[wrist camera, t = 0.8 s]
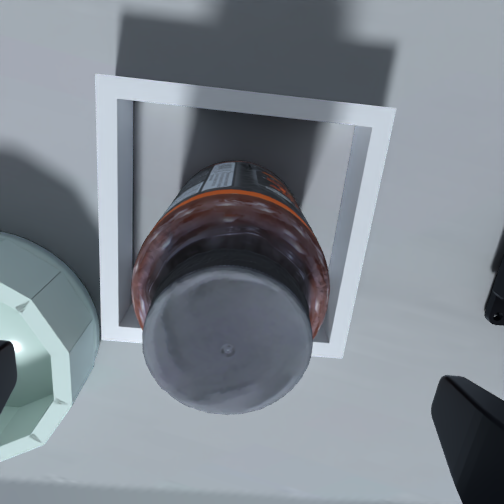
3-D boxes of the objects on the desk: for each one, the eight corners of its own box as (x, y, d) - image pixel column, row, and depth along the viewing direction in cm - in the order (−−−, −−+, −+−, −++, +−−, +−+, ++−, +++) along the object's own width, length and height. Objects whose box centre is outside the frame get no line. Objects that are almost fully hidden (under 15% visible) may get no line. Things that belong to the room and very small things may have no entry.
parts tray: (376, 107, 18) (396, 108, 16) (332, 331, 22) (342, 358, 20) (114, 77, 18) (95, 73, 15) (116, 314, 21) (101, 339, 19)
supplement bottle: (319, 232, 20) (406, 376, 10) (223, 295, 21) (205, 487, 11) (250, 130, 18) (261, 168, 8) (149, 205, 20) (39, 327, 9)
